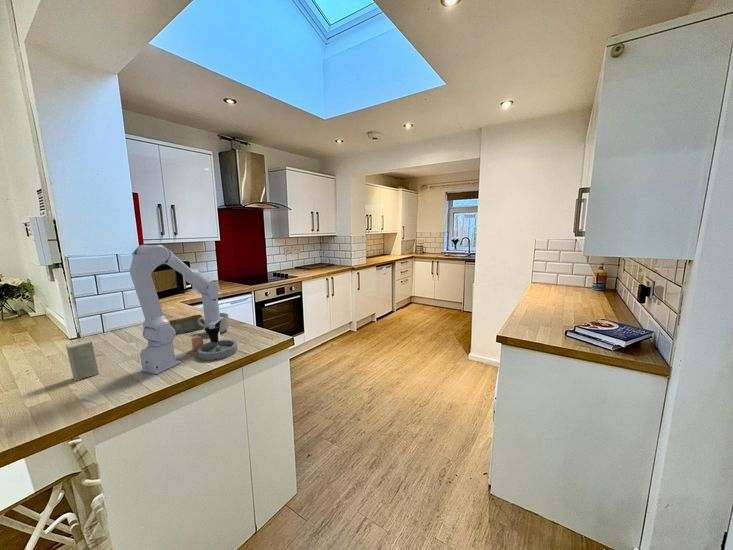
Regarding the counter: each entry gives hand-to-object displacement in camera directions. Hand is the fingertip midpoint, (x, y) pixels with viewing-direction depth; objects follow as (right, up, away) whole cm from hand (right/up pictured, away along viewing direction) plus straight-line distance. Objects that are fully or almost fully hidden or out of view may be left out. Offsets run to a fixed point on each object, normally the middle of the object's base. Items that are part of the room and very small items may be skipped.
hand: (215, 339), depth 125 cm
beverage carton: (-26, 0, +18) cm, 32 cm away
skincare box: (-32, -7, -25) cm, 41 cm away
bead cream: (0, -2, 0) cm, 2 cm away
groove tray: (+5, -3, -8) cm, 10 cm away
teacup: (-9, 0, +16) cm, 18 cm away
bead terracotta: (-5, -3, -4) cm, 7 cm away
